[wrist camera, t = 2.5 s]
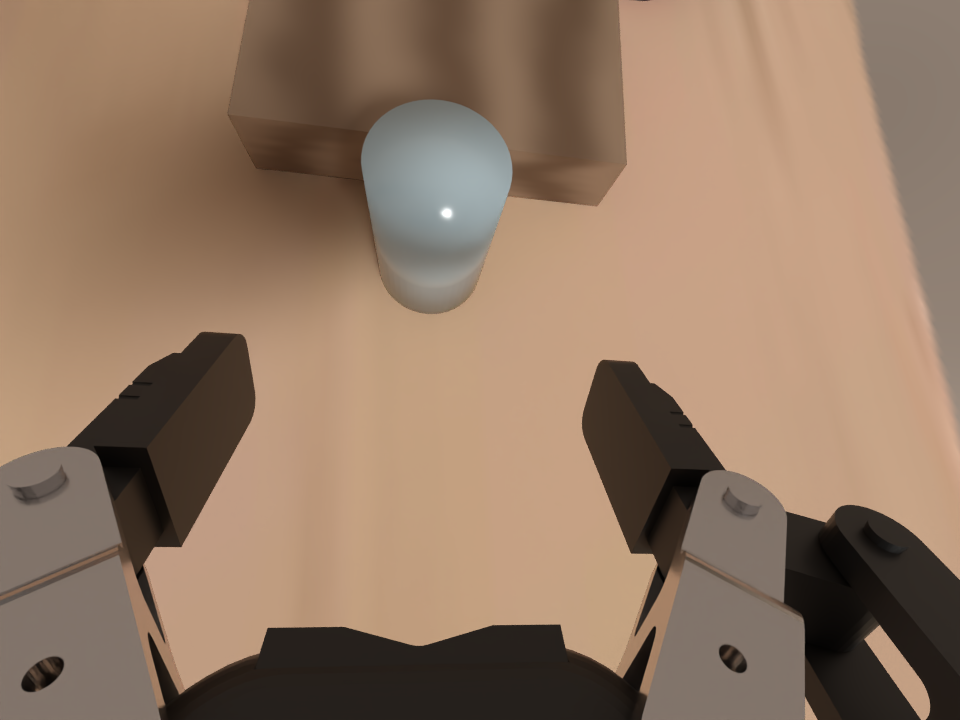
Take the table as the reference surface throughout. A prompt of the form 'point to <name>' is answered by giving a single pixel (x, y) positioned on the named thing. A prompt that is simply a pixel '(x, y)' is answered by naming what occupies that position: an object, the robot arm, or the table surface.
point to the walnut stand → (437, 83)
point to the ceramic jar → (434, 200)
